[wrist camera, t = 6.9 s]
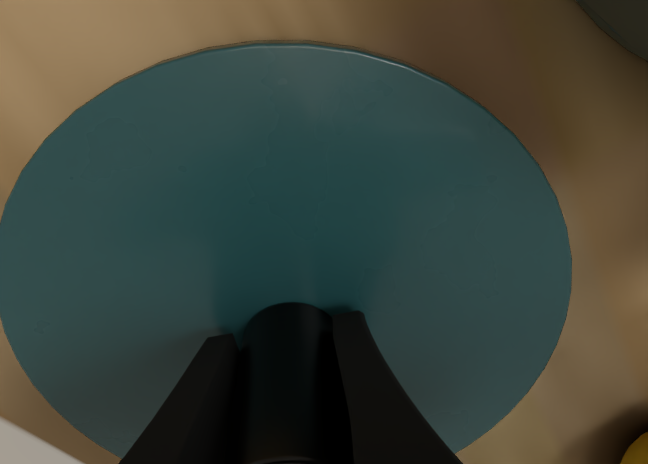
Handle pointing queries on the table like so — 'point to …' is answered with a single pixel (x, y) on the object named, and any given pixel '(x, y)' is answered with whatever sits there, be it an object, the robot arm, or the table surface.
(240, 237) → the lid
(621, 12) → the pot
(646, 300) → the table surface
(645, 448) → the small lemon
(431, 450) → the robot arm
